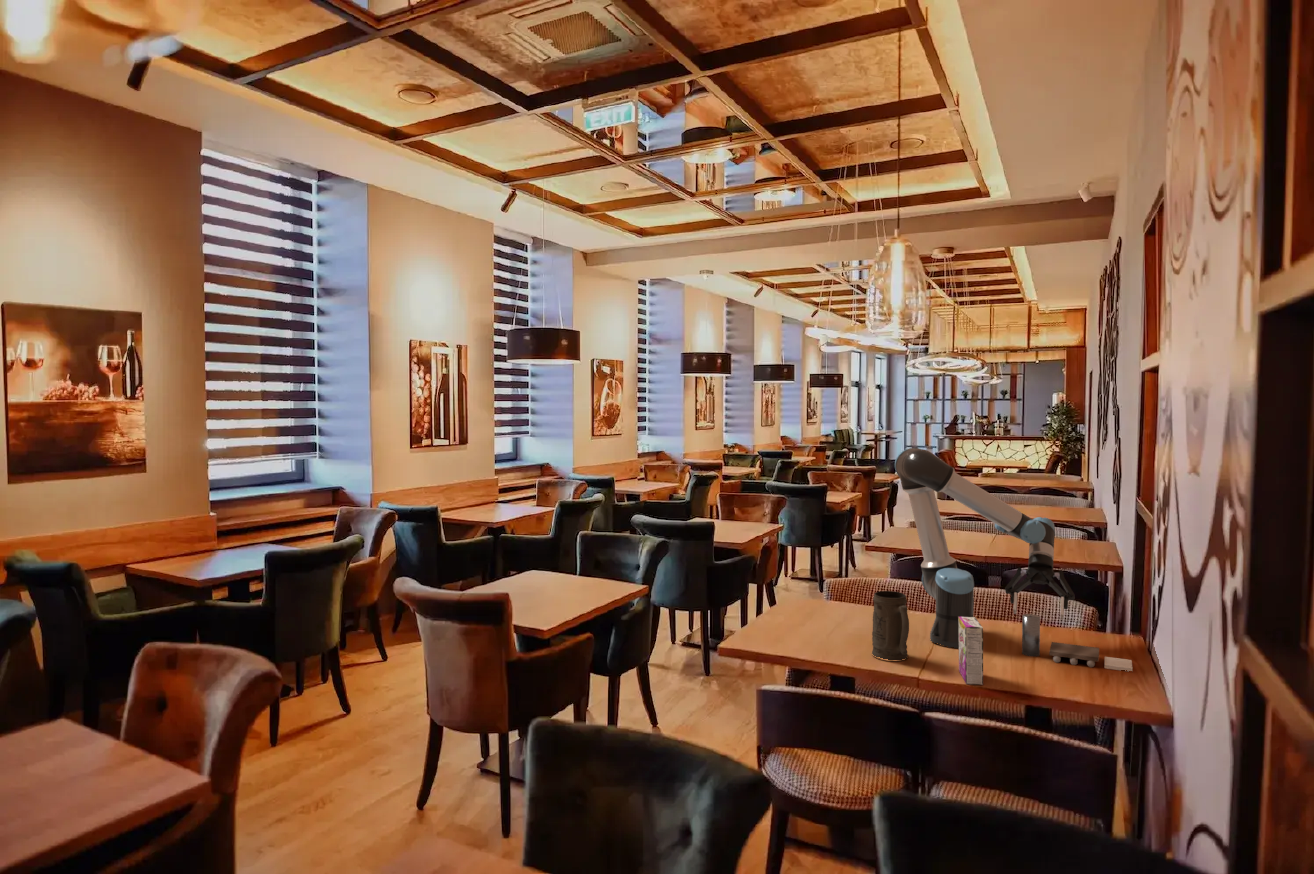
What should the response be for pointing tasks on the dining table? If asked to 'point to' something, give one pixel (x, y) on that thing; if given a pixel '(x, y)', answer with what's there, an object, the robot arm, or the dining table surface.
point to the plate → (1118, 664)
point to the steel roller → (1031, 635)
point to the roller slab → (1074, 653)
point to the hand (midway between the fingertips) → (1038, 614)
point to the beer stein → (890, 625)
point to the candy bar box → (971, 650)
